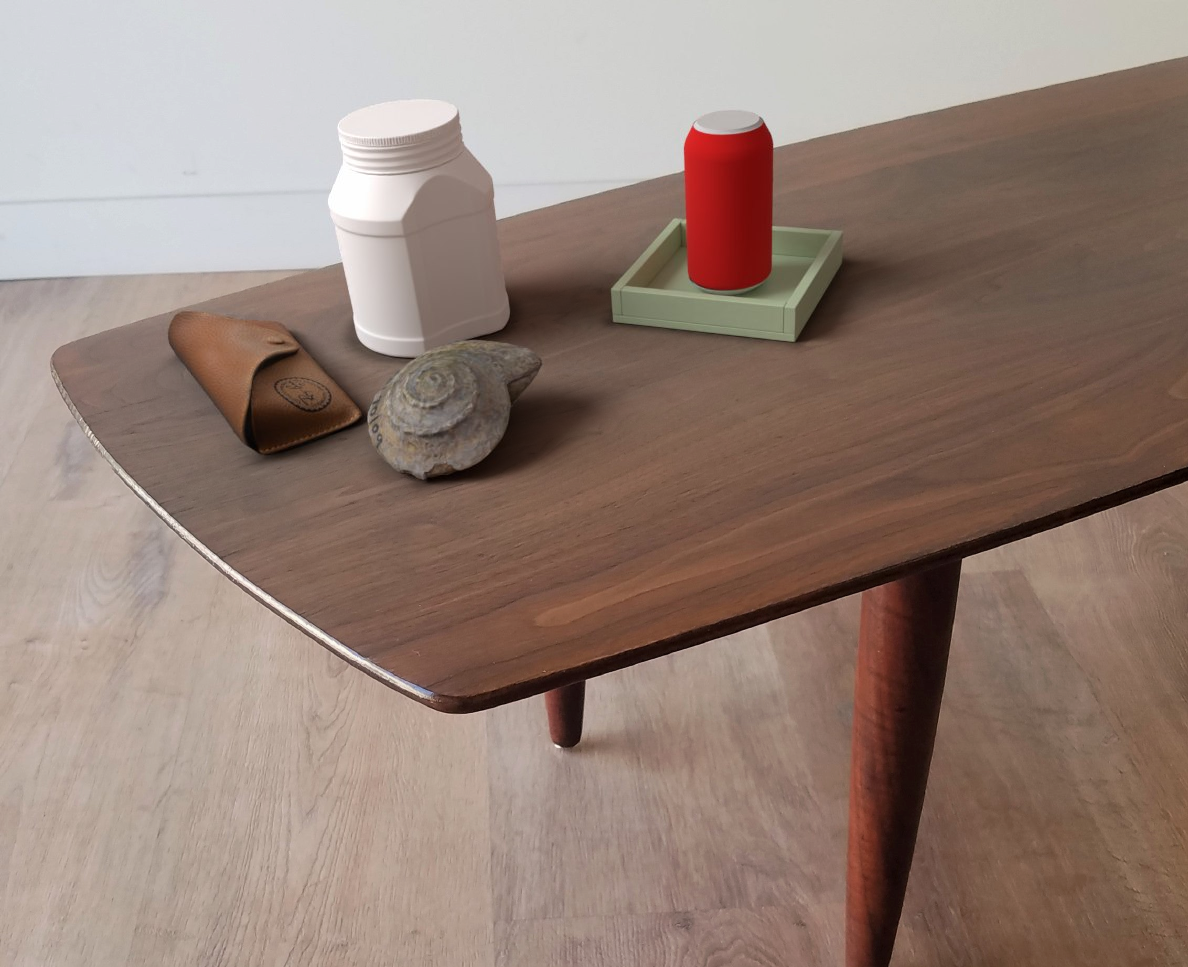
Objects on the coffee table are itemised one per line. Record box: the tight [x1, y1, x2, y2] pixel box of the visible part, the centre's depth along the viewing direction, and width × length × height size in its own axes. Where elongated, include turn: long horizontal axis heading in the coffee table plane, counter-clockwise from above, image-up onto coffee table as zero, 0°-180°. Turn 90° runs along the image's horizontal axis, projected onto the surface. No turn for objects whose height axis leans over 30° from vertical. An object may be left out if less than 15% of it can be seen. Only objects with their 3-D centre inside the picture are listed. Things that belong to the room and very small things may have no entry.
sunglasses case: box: [167, 310, 363, 456], centre depth 84 cm, size 18×7×7 cm
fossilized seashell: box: [367, 339, 543, 481], centre depth 77 cm, size 11×11×7 cm
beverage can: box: [683, 109, 774, 296], centre depth 88 cm, size 6×6×12 cm
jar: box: [327, 98, 511, 359], centre depth 87 cm, size 12×10×15 cm
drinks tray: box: [610, 217, 844, 343], centre depth 91 cm, size 14×14×3 cm
